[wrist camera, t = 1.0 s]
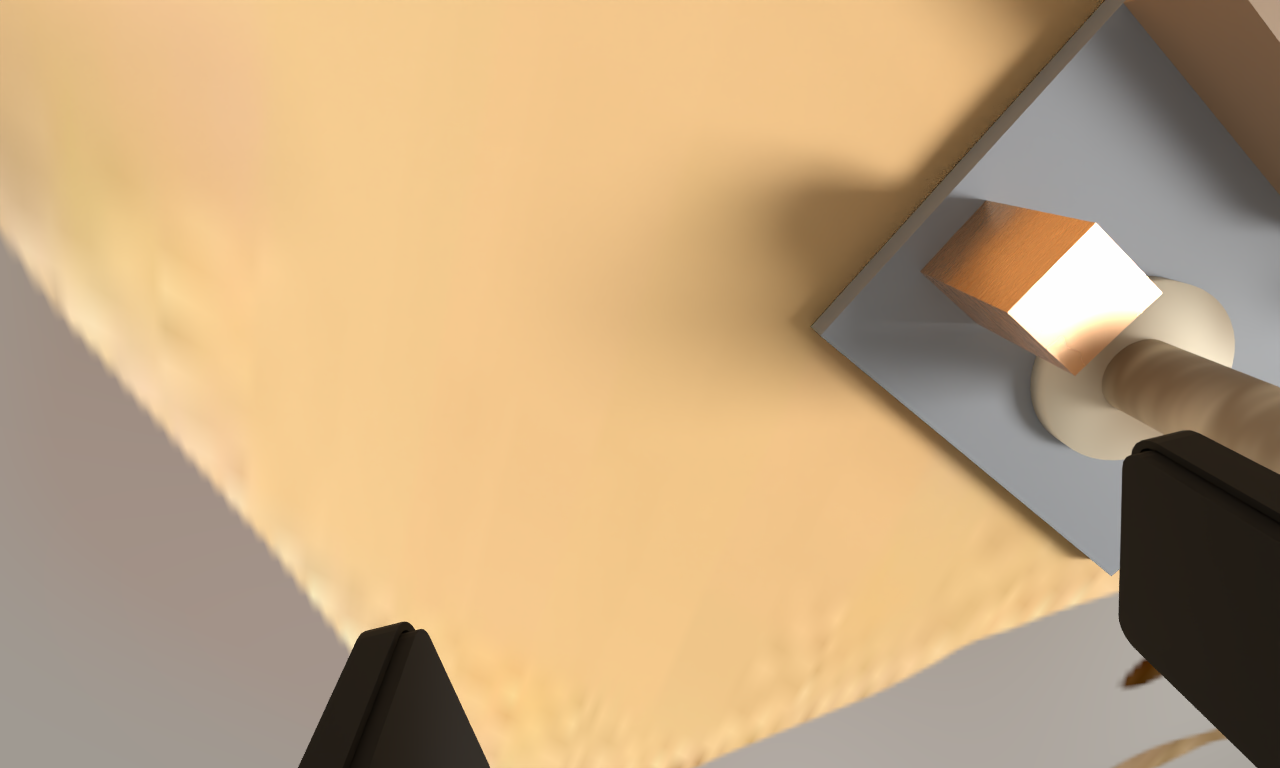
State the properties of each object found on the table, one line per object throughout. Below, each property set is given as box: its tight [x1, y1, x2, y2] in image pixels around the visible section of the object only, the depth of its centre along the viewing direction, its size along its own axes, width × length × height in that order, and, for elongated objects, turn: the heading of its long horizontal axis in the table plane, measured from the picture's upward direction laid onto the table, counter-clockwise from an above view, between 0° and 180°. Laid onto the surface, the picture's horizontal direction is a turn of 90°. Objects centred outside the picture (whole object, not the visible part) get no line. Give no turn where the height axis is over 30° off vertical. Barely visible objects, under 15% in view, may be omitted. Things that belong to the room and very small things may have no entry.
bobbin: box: [1030, 276, 1280, 474], centre depth 27 cm, size 9×9×14 cm
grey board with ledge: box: [811, 0, 1280, 576], centre depth 30 cm, size 20×23×6 cm
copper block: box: [920, 200, 1162, 376], centre depth 27 cm, size 4×4×7 cm
